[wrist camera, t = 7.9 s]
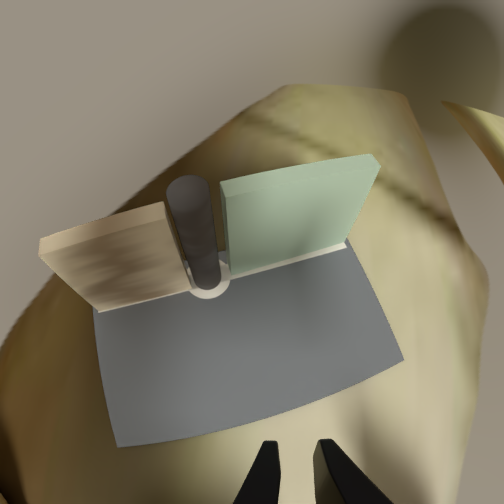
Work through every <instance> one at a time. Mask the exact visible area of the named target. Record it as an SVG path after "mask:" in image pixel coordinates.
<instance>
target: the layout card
mask: <svg viewBox="0 0 504 504" xmlns="http://www.w3.org/2000/svg"><path fill="white" fill-rule="evenodd" d="M218 256H219V263H220V270H221V281H220V283H219V285H218V286H217V287H215V288H214V289H211V290H203V289H200V288H199V287H197V286H196V284H195V282H194V280H193V277H192V274H191V271H190V268H189V265H188V262H187V260H185V261H184V263H185V266H186V269H187V272H188V274H189V278H190V283H191V287H192V288H191V289H187V290H183V291H180V292H176V293H172V294H168V295H164V296H160V297H156V298H152V299H148V300H144V301H140V302H136V303H132V304H127V305H123V306H119V307H115V308H111V309H107V310H103V311H98V310H97V309H96V308H94V307H93V317H94V327H95V336H96V345H97V352H98V359H99V366H100V372H101V378H102V383H103V388H104V394H105V398H106V403H107V408H108V412H109V417H110V421H111V425H112V429H113V433H114V436H115V440H116V444H117V447H129V446H138V445H146V444H153V443H160V442H167V441H173V440H178V439H184V438H189V437H194V436H199V435H204V434H208V433H213V432H217V431H221V430H225V429H229V428H233V427H237V426H241V425H244V424H248V423H251V422H255V421H258V420H261V419H265V418H268V417H271V416H274V415H277V414H280V413H283V412H286V411H289V410H292V409H295V408H298V407H301V406H303V405H306V404H309V403H311V402H314V401H317V400H319V399H322V398H324V397H327V396H329V395H332V394H334V393H336V392H339V391H341V390H343V389H346V388H348V387H350V386H352V385H355V384H357V383H359V382H361V381H363V380H366V379H368V378H370V377H372V376H374V375H376V374H378V373H380V372H382V371H384V370H386V369H388V368H390V367H392V366H394V365H396V364H397V363H399V362H401V361H403V360H404V358H403V356H402V353H401V351H400V348H399V346H398V343H397V341H396V339H395V336H394V334H393V332H392V329H391V327H390V325H389V323H388V320H387V318H386V316H385V314H384V312H383V309H382V307H381V305H380V303H379V301H378V299H377V296H376V294H375V292H374V290H373V288H372V286H371V284H370V282H369V280H368V278H367V276H366V274H365V272H364V270H363V268H362V266H361V264H360V262H359V260H358V258H357V256H356V254H355V252H354V250H353V248H352V246H351V245H350V243H349V241H348V239H347V238H346V240H345V242H343V243H340V244H336V245H333V246H330V247H326V248H323V249H320V250H317V251H313V252H310V253H307V254H303V255H300V256H297V257H293V258H290V259H286V260H283V261H280V262H276V263H273V264H269V265H266V266H263V267H259V268H256V269H252V270H249V271H245V272H242V273H239V274H235V275H231V273H230V270H229V267H228V264H227V257H226V250H224V251H220V252H218Z"/></svg>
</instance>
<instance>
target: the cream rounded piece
mask: <svg viewBox="0 0 504 504" xmlns="http://www.w3.org/2000/svg"><path fill="white" fill-rule="evenodd" d="M0 504H8V503H7V502H6V500H5V499H4V497H3V496H2V494H1V493H0Z"/></svg>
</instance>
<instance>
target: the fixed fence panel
mask: <svg viewBox="0 0 504 504" xmlns="http://www.w3.org/2000/svg"><path fill="white" fill-rule="evenodd" d="M166 196H167V199H168V203H169V206H170V209H171V213H172V216H173V219H174V222H175V226H176V229H177V232H178V235H179V238H180V241H181V244H182V247H183V250H184V253H185V256H186V259H187V262H188V265H189V268H190V271H191V274H192V277H193V280H194V282H195V284H196V286H197V287H199V288H200V289H203V290H211V289H214V288H215V287H217V286H218V285H219V283H220V281H221V270H220V263H219V256H218V249H217V242H216V235H215V228H214V220H213V213H212V205H211V198H210V190H209V185H208V182H207V181H206V180H205V179H204V178H202V177H200V176H197V175H185V176H181V177H179V178H177V179H175V180H174V181H173V182H172V183H171V184H170V185H169V186H168V188H167V191H166ZM38 256H39V257H40V258H41V259H42V260H43V261H44V262H45V263H46V264H47V265H48V266H49V267H50V268H51V269H52V270H53V271H54V272H55V273H56V274H57V275H58V276H59V277H61V278H62V279H63V280H64V281H65V282H66V283H67V284H68V285H69V286H70V287H71V288H73V289H74V290H75V291H76V292H77V293H78V294H79V295H80V296H82V297H83V298H84V299H85V300H86V301H87V302H88V303H90V304H91V305H92V306H93V307H94V308H96V309H97V310H98V311H103V310H107V309H111V308H115V307H119V306H123V305H127V304H132V303H136V302H140V301H144V300H148V299H152V298H156V297H160V296H164V295H168V294H172V293H176V292H180V291H183V290H187V289H191V288H192V287H191V283H190V278H189V274H188V272H187V269H186V266H185V263H184V261H183V258H182V255H181V252H180V249H179V247H178V244H177V241H176V238H175V235H174V232H173V229H172V226H171V223H170V220H169V217H168V214H167V211H166V208H165V205H164V201H162V202H158V203H154V204H151V205H147V206H143V207H140V208H136V209H132V210H129V211H125V212H122V213H118V214H115V215H112V216H108V217H105V218H102V219H99V220H95V221H92V222H89V223H86V224H82V225H79V226H76V227H73V228H70V229H67V230H64V231H61V232H58V233H55V234H52V235H50V236H47V237H44V238H41V239H40V245H39V254H38Z"/></svg>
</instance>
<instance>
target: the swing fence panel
mask: <svg viewBox="0 0 504 504" xmlns="http://www.w3.org/2000/svg"><path fill="white" fill-rule="evenodd" d="M380 167H381V165H380V164H379V163H378V162H377V160H376V159H375V158H374V157H373V156H372V154H364V155H357V156H350V157H343V158H337V159H331V160H325V161H319V162H313V163H307V164H302V165H296V166H291V167H286V168H281V169H276V170H271V171H266V172H261V173H256V174H252V175H247V176H242V177H238V178H234V179H229V180H225V181H221V182H220V192H221V203H222V214H223V225H224V236H225V246H226V257H227V264H228V267H229V270H230V273H231V275H235V274H239V273H242V272H245V271H249V270H252V269H256V268H259V267H263V266H266V265H269V264H273V263H276V262H280V261H283V260H286V259H290V258H293V257H297V256H300V255H303V254H307V253H310V252H313V251H317V250H320V249H323V248H326V247H330V246H333V245H336V244H340V243H343V242H345V240H346V238H347V236H348V234H349V232H350V230H351V228H352V226H353V224H354V222H355V220H356V218H357V216H358V214H359V212H360V210H361V208H362V206H363V204H364V201H365V199H366V197H367V195H368V193H369V191H370V189H371V187H372V184H373V182H374V180H375V178H376V176H377V174H378V171H379V169H380Z"/></svg>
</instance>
